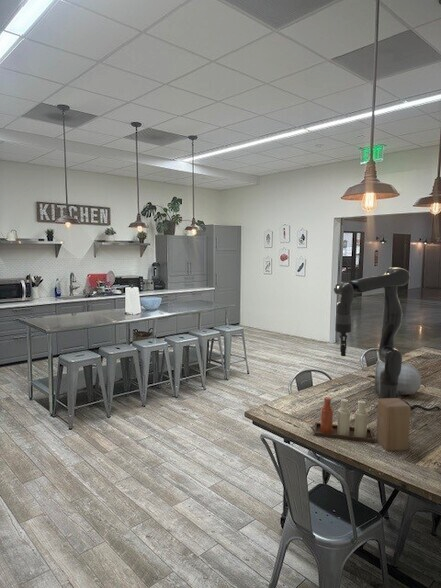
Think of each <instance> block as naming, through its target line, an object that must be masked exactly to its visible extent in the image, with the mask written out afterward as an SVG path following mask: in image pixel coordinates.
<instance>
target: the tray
mask: <svg viewBox="0 0 441 588" xmlns="http://www.w3.org/2000/svg"><path fill="white" fill-rule="evenodd" d="M320 425H321V422H314V432H313V436H315V437H322V438H330V439H331V438H332V439H339V440H347V441H353V442H360V443H370V444H371V443H372V444H374V443H375V437H374V434H373V429H372V428H367V437H366V438H362V437H355V436H354V426H350V430H349V436H346V435H338V434H337V424H333V427H332V434H330V433H321V432H320Z"/></svg>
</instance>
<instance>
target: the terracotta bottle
mask: <svg viewBox="0 0 441 588" xmlns="http://www.w3.org/2000/svg"><path fill="white" fill-rule="evenodd" d="M331 404H332V398H331V397H329V396H324V398H323V405H322V407H320V423H321V425H320V432H321V433H330V434H332V427H333V425H334V421H333V420H334V408H333V407H332V405H331Z"/></svg>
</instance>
